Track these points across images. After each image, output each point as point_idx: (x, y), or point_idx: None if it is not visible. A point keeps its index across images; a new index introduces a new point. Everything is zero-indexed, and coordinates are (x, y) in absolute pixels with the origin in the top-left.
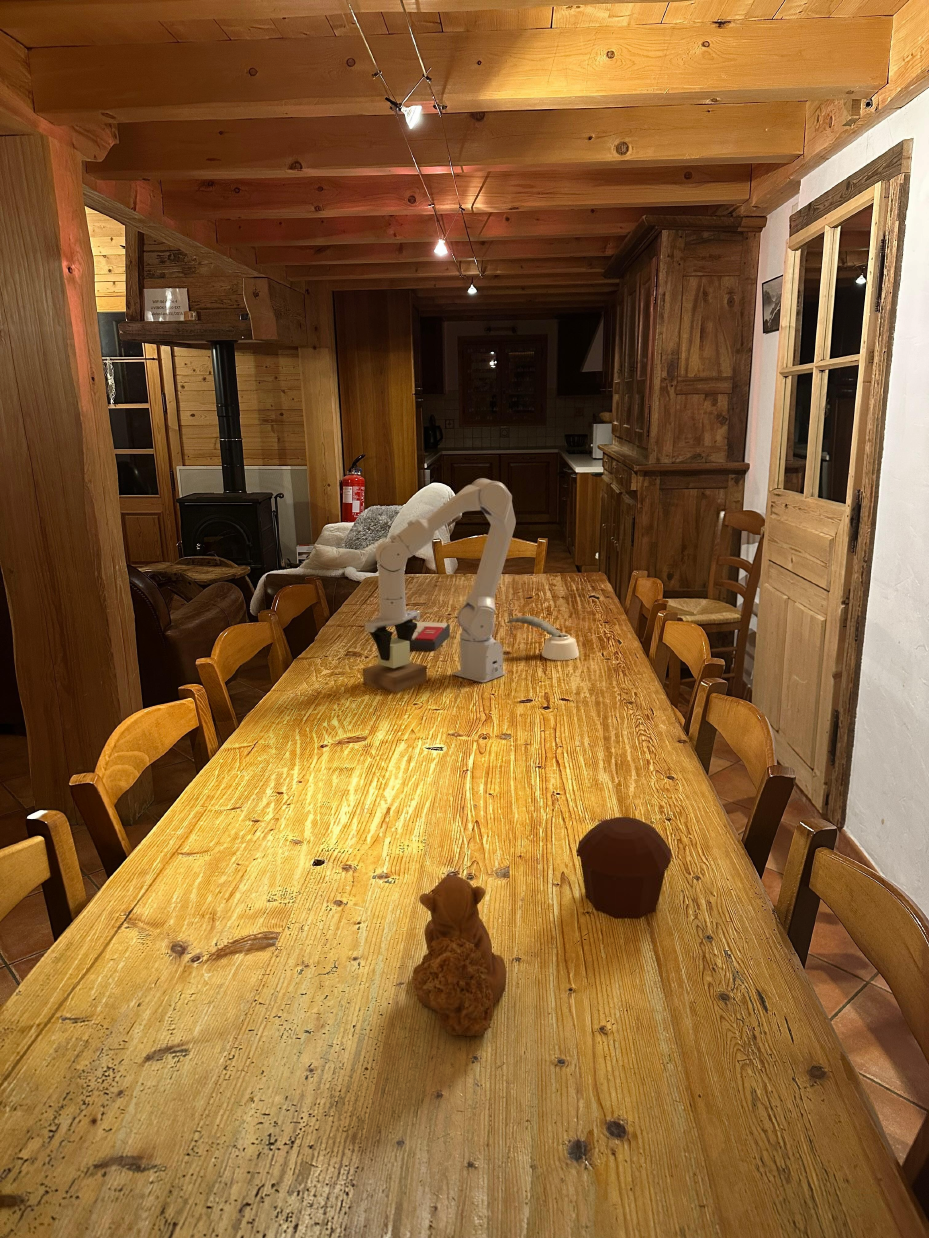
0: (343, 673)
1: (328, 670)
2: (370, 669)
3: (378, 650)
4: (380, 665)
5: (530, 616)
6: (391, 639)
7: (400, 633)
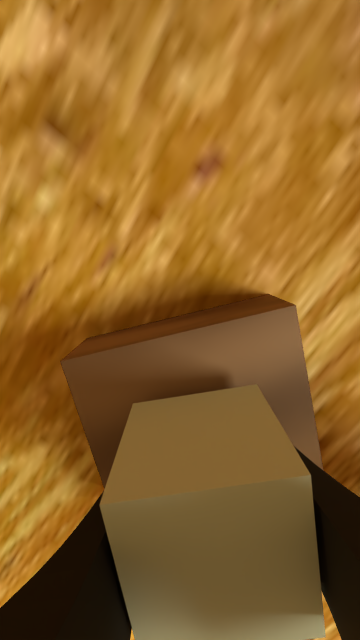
0: (86, 134)
1: (44, 26)
2: (88, 394)
3: (90, 510)
4: (164, 369)
5: None
6: (249, 513)
7: (354, 597)
